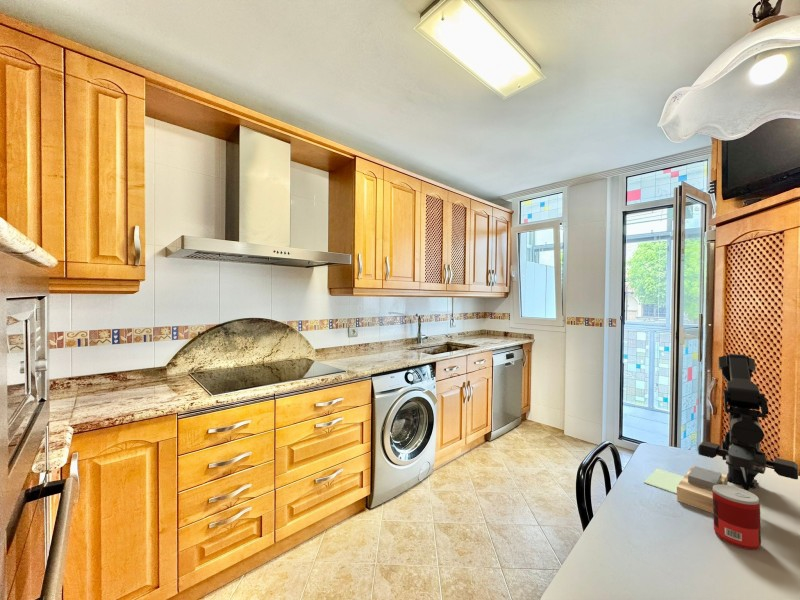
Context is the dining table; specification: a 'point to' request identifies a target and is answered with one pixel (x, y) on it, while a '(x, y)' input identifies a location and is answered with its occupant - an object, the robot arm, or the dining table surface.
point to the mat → (664, 480)
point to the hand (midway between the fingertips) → (746, 489)
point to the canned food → (737, 516)
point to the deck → (696, 493)
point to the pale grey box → (704, 477)
